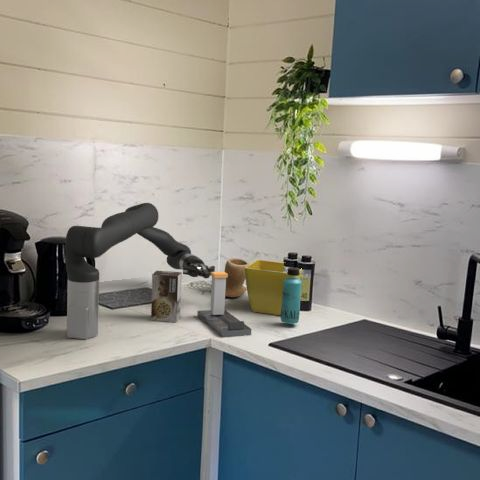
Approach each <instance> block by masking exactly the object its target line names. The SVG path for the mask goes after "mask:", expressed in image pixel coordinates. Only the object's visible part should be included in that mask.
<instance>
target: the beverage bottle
mask: <svg viewBox="0 0 480 480" xmlns="http://www.w3.org/2000/svg"><path fill="white" fill-rule="evenodd" d="M287 274H288V275H292V276H298V275H300V270H299V269H298V268H288V272H287ZM302 285H303V280H302V281H301V280H300V279H299V278H296V277H287V278H286V279H285V280H284V286H283V293H282V296H283V297H282V309H281V315H280V321H281V322H282V323H283V324H284V323H285V324H291V325H292V324H298V323H299V321H300V310H301V298H302V297H301V295H302V287H303V286H302Z"/></svg>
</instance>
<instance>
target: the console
mask: <svg viewBox="0 0 480 480" xmlns="http://www.w3.org/2000/svg"><path fill="white" fill-rule="evenodd" d="M196 315H197V318H199V319H200V320H201V321H203V323H205V324H206V325H207V326H208V327H209V328H210V329H212V330H213V331H214V332H216V334H218V335H219V336H220V337H221V338H229V337H230V338H231V337H242V336H243V337H245V336H244V335H246V336H252V328H251V327H249V326H248V325H247V324H245V321H244V320H240V319H239V318H237V317H236V316H234V315H233V314H231V313H230V312H228V311H227V310H226V309H225V308H224V314H221V315H213V314H211V313H210V309H202V310H197V313H196Z"/></svg>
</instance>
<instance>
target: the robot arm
mask: <svg viewBox="0 0 480 480" xmlns="http://www.w3.org/2000/svg"><path fill="white" fill-rule="evenodd" d="M158 221H159V211H158V209H157V207H156V206H155V205H154V204H152V203H151V202H143V203H139V204H136V205H132V206H130V207H127V208H126V209H125V210H124V211H122V212H118V213H115V214H112V215H110V216H108V217H106V218H105V219H104V220H103V222H102V223H101V225H100V227H94V226H85V225H83V226H82V225H73V226H72V225H71V227H69V229H68V230H67V232H66V234H65V235H66V236H65V245H64V246H65V269H66V273H67V292H66V293H67V298H66V299H67V300H66V301H67V304H66V305H67V306H66V312H67V313H66V338H69V339H78V340H79V339H80V340H89V339H90V338H95V337H97V336H98V335H99V305H100V303H99V301H100V297H99V295H100V270H99V269H97V268H96V267H94V266H93V265H91V264H89V263H88V262H87V260H86V259H85V258H88V259H96V258H99V257H101V256H103V255H104V254H105V253H106V252H108V251H109V250H110V249H111V248H113V247H114V246H117V245H118V244H120V243H122V242H125V241H126V240H128V239H129V238H132V237H133V236H135V235H139V236H140V237H142V238H144V239H145V240H147V241H148V242H150V243H151V244H153V245H154V246H155V247H156V248H158V250H159V251H161V253H162V254H164V255H165V256H167V257H166V263H167V264H168V266H169V267H170V268H172V269H175V270H182V274H183V275H185V276H189V277H192V278H198V277H200V278H201V277H202V278H204V279H209V278H210V277H212V276H211V272H216V271H215V270H216V266H215V265H211V266H208V265H206V264H205V262H204V261H203V260H202V259H201V258H200V257H198V256H197V255H195V254H192V250H191V249H190V247H189V246H187V245H186V244H184V243H181V242H179V241H177V240H176V239H175V238H174V237H173V236H172V234H170V233H169V232H167V231H165V230H163V229H161V228H157V227H155V226H156V225H157V224H158Z"/></svg>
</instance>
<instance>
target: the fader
mask: <svg viewBox="0 0 480 480" xmlns="http://www.w3.org/2000/svg"><path fill="white" fill-rule="evenodd" d="M210 277H211V285H210V287H211V288H210V289H211V291H210V293H211V294H210V309H209V310H210V313H211V314H213V315H221V314H224V309H225V303H226V296H225V289H226V278H227V277H228V274H227V273H225V272H224V271H215V272H211V276H210Z"/></svg>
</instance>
